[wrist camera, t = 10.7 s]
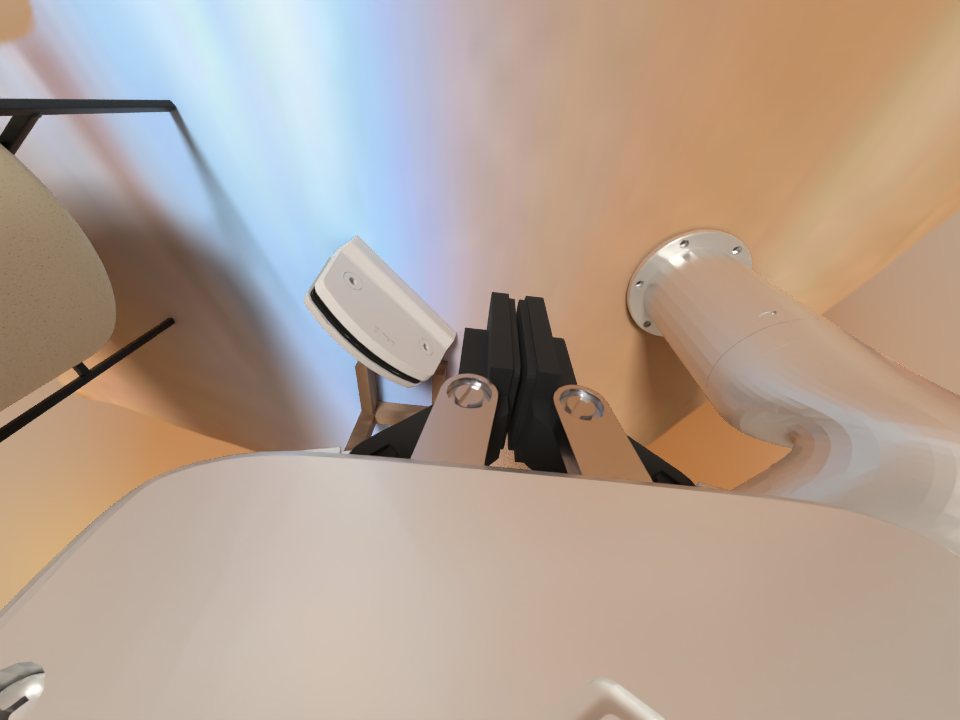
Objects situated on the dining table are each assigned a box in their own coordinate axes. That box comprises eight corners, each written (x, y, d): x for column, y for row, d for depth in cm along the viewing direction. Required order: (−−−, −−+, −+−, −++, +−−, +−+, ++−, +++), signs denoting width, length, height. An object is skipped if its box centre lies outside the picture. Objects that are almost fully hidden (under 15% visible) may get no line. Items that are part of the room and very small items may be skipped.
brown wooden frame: (450, 361, 47) (426, 496, 31) (446, 417, 53) (425, 552, 37) (359, 352, 46) (286, 483, 30) (366, 409, 53) (310, 542, 37)
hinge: (458, 334, 44) (442, 390, 37) (433, 350, 46) (413, 406, 39) (354, 231, 37) (307, 275, 29) (330, 257, 39) (281, 303, 32)
